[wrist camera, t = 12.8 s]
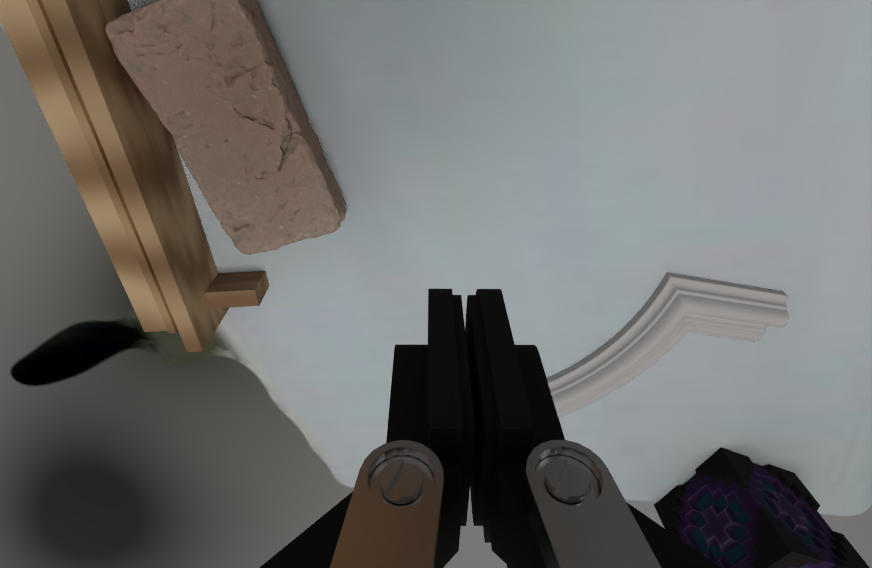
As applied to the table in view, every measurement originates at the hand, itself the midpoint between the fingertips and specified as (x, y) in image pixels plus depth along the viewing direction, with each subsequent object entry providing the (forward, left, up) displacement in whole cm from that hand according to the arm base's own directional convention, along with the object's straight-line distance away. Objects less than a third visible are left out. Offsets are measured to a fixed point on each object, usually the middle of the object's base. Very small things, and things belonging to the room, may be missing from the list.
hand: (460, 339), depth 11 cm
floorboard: (+2, -20, -26) cm, 33 cm away
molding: (+28, +13, -27) cm, 41 cm away
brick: (0, -13, -27) cm, 29 cm away
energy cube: (+47, +34, -26) cm, 64 cm away
